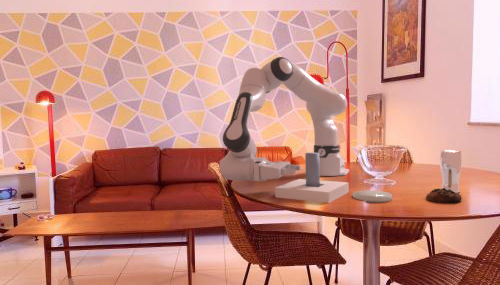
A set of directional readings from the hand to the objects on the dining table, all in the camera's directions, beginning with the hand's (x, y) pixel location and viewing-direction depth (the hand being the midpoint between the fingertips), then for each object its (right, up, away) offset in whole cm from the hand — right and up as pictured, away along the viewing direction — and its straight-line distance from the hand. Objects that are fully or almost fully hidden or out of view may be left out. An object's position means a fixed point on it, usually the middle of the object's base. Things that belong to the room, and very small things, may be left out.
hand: (297, 169), depth 147 cm
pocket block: (+5, -10, 0) cm, 11 cm away
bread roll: (+48, -10, -11) cm, 50 cm away
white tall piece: (+56, -8, +2) cm, 57 cm away
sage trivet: (+25, -10, -7) cm, 28 cm away
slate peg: (+5, -9, 0) cm, 11 cm away
